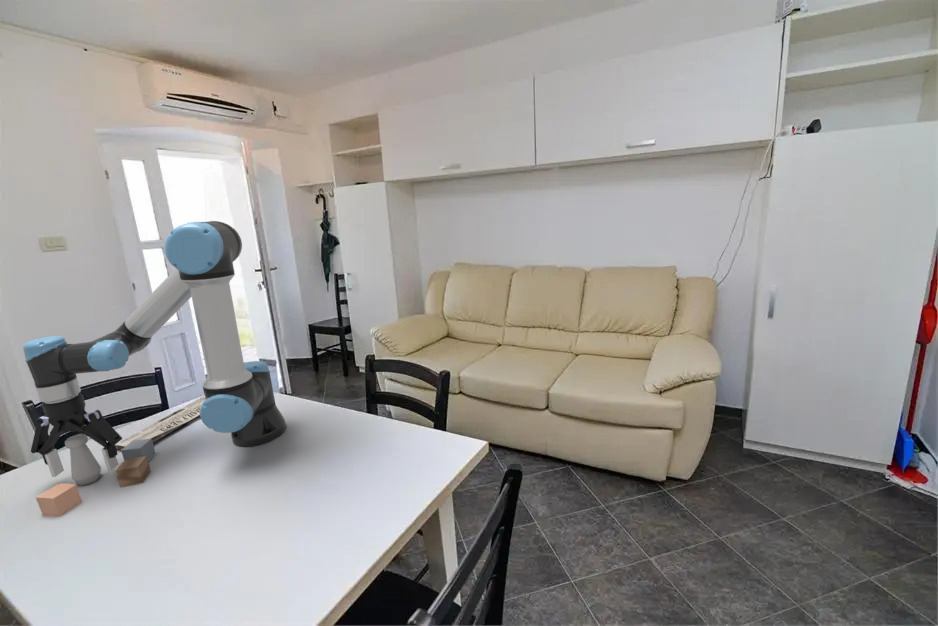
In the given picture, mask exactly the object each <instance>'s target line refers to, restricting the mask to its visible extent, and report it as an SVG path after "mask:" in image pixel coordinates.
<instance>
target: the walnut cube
mask: <svg viewBox="0 0 938 626" xmlns="http://www.w3.org/2000/svg"><path fill="white" fill-rule="evenodd" d="M114 472H115V475H116V479H117V481H118V485H119V487H120V488H125V487H129V486H136V485H140V484H143V483H144V482H145V481H146V479H147V478H148V477H149V476H150V474H151V473H152V470H151V466H150V463H149V460H148V459H147V456H143V457H138V458H132V459H127V460H124V459H123V461H122V463H121V464H119V465H118V467H117V468H116V469H115V470H114Z"/></svg>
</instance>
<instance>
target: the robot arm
mask: <svg viewBox="0 0 938 626" xmlns="http://www.w3.org/2000/svg"><path fill="white" fill-rule="evenodd" d="M242 250H243V243H242V238H241V236H240V234H239V232H238V231H237V230H236V229H235V228H234V227H232V226H231V225H230V224H227V223H225V222H222V221H217V220H209V221H191V222H187V223H183V224H180V225H178V226H176V227H175V228H173V230H171V231H170V232H169V234H168V235H167V237H166V239H165V242H164V254H165V256H166V258H167V259H166V260H167V261H168V262H169V264H170V265H171V266H172V267H174V268H175V269H174V270H173V271H171V273H170V274H169V275H168V276H167V277H166V278H165V279H164V280H163V281H162V282H161V283H160V284H159V285H158V287H156V289H155V290H154V291H152V292H151V294H150V295H149V296H147V297H146V299H145V300H144V301H143V302H142V303H141V304H139V306H138V307H136V309H135V310H134V311H133V312H131V314H130V315H129V316H127V318H126V319H125V321H123V322H122V323H121V325H119V327H117V328H116V330H114V331H112V332H110V333H107V334H106V335H103V336H101V337H98V338H96V339H94V340H92V341H88V342H79V343H68V342H67V340H66V339H65V337H64V336H63V335H62V336H61V335H51V336H45V337H44V336H43V337H41V338H40V337H39V338H36V339H32V340H29V341H27V342H26V343H24V344H23V346H22V349H23V353H24V358H25V362H26V364H27V366H28V369H29V372H30V374H31V377H32V379H33V382H34V385H35V389H36V392H37V396H38V399H39V402H41V407H42V409H43V413H44V415H42V416H40V417H38V418H37V419H35V420H34V424H35V430H34V434H33V438H32V439H33V440H32V444H31V448H30V452H31V454H36V453H39V455H41V456H42V458H43V461H44V464H45V465H46V466H48V469H49V471H50V474H51V478H56V477H57V476H59V475H60V474H61V473H63V472H64V471H65V470H64V466H63V464H62V461H61V457H60V455H59V452H58V449H57V448H55V445H56V443H57V442H58V440H59V439H60V437H61V436H62V434H66V433H69V432H70V433H77V432H78V434H84V435H86V436H87V438H90V439H91V440H92V441H94V442H96V443H97V444H99V445H100V446H102V448H100V449H101V454H102V456H103V459H104V462H105V465H106V469H107V472H111V471H113V470H114V469H115V468H116V467H117V466H118V467H119V462H118V459H117V456H118V449H116V446H115V445H116V444H118V443H120V442H121V441H123V437H122V436H121V435H120V434H119V432H117V430H115V428H114V427H113V426H112V425H111V424H110V423H109V422H108V421H107V420H106V419H105V418H104V417H103V414H102V412H101V411H100V410H99V409H96V410H94V411H93V412H89V413H88V412H87V411H86V410H85V409H86V401H85V399H84V396H83V393H81V391H82V389H81V386H80V383H79V380H78V376H77V374H86V373H87V374H88V373H97V372H110V371H114V370H119V369H122V368H124V366H125V365H126V364H127V362H128V361H129V357H130V356H132V355H134V354H136V353H137V352H140V351H142V350H144V348H146V347H147V346H148V345H149V344H150V343H151V340H152V337H154V335H155V334H156V333H157V332H159V330H160V329H161V328H162V327H163V326H164V325H165V324H166V323H168V321H170V319H172V317H173V316H174V315H175V314H176V313H177V312H178V311H179V310H180V309H181V308H182V307H184V305H186V303H187V302H188V301H189V300H190V299H191V301H192V305H193V309H194V310H193V311H194V315H195V316H194V317H195V320H196V325H197V329H198V335H199V339H200V345H201V351H202V355H203V359H204V365H205V369H206V375H207V377H206V379H205V380H204V381H203V382H202V389H203V396H205V401H204V402H203V404H202V406H201V409H200V415H199V417H200V420H201V421H202V423H203V424H204V425H205V426H206V427H207V428H208V429H211V430H213V431H214V432H215V433H216V432H217V433H221V434H230V435H231V436H230V437H231V441H232V443H233V444H234V445H236V447H237V446H238V447H243V448H244V447H245V448H248V447H254V446H260V445H263V444H266V443H268V442H271V441H273V440H275V439H276V438H278V437H280V436H281V435H282V434H284V432H285V431H286V430H287V424H286V419H285V417H284V416H283V414H282V413H281V411H280V410H279V408H278V407H277V405H276V399H275V395H274V390H273V383H272V378H271V370H270V369H269V364H268V363H267V362H266V361H262V360H254V361H252V360H251V361H245V362H244V359H243V358H244V357H243V352H242V345H241V341H240V336H239V335H240V334H239V329H238V323H237V319H236V312H235V306H234V302H233V301H234V300H233V296H232V291H231V290H232V289H231V285H230V282H231V280H232V279H233V278H234V277H235V276H236V274H235V268H234V263H233V262H235V261H236V260H237V259H238V258H239V257H240V255H241V253H242ZM50 425H51V426H52V428H51V431H50V432H49V429H50ZM48 432H49V433H48ZM48 434H49V435H48Z"/></svg>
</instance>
